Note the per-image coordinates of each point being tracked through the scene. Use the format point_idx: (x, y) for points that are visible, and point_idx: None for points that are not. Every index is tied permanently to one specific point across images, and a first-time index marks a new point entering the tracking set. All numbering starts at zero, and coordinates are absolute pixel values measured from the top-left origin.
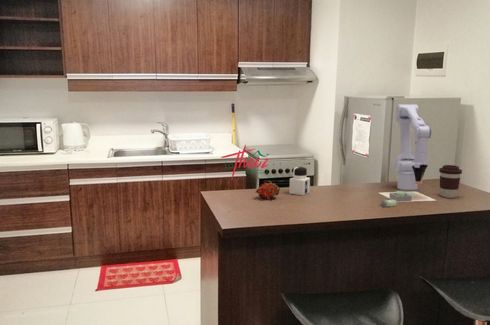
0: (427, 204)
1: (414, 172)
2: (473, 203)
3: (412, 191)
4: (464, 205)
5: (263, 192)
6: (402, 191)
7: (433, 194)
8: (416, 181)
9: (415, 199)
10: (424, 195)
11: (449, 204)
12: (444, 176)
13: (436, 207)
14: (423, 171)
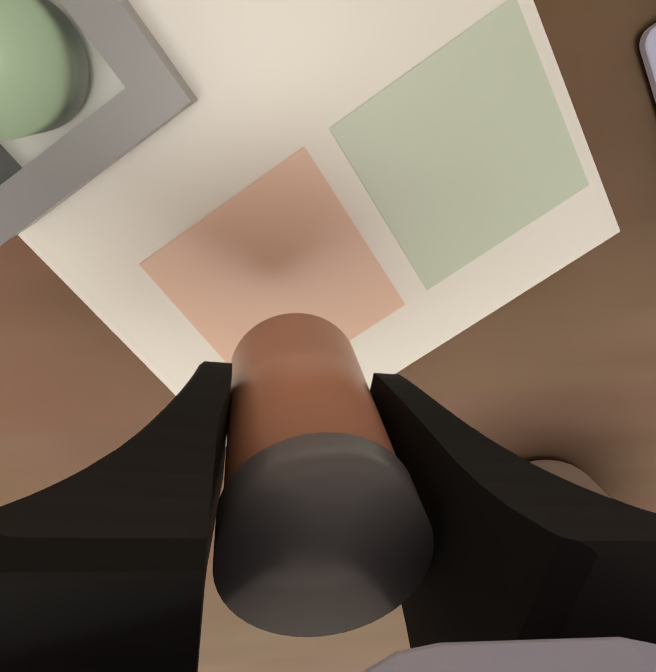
0: (82, 392)
1: (110, 458)
2: (341, 661)
3: (603, 196)
4: (239, 628)
5: None
6: (14, 89)
7: (573, 401)
8: (237, 365)
9: (147, 271)
10: (425, 343)
11: (210, 547)
12: None
13: (6, 474)
14: (410, 607)
